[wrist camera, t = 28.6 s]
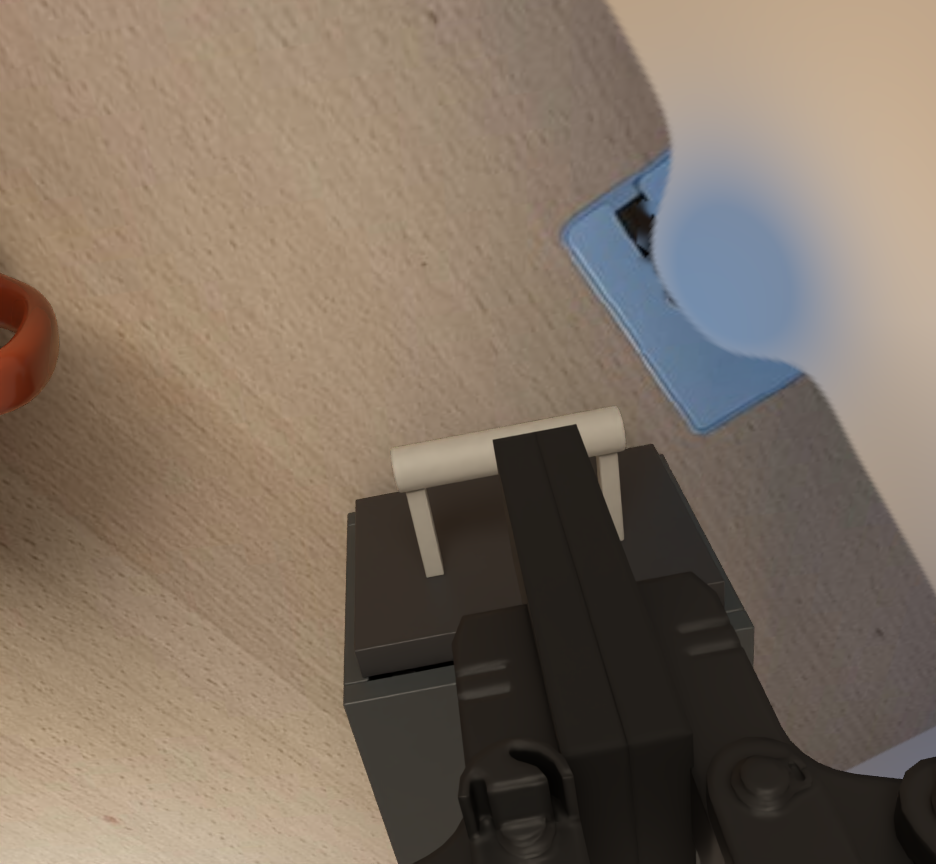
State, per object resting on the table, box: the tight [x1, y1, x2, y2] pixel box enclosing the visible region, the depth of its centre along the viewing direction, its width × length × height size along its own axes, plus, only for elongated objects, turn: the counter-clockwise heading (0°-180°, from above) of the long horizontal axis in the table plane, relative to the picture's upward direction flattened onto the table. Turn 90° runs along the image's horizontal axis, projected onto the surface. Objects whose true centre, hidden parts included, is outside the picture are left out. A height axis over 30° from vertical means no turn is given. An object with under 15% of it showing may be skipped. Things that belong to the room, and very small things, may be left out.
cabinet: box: [343, 454, 754, 864], centre depth 34 cm, size 15×13×10 cm
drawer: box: [354, 406, 725, 678], centre depth 32 cm, size 18×11×8 cm, turn 9°
